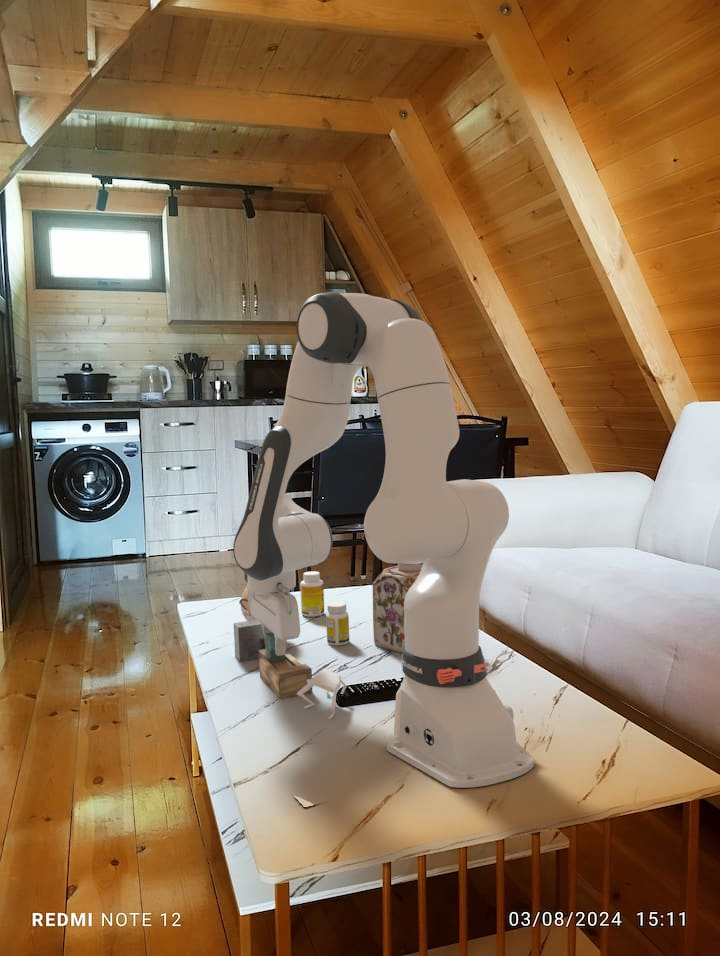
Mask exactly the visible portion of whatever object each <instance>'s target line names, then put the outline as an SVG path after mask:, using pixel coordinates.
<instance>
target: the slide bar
mask: <svg viewBox="0 0 720 956" xmlns="http://www.w3.org/2000/svg"><path fill="white" fill-rule="evenodd" d="M274 645H275V637H274V633H272V632H270V633H265V649H262V650H258V655H259V659H261V658H266V659H267V660H268V661H269V662H270V663H271V664H272V665H273V666H274V667H275V668H276V669H279V668H284V667H290V666H293V665H292V664H290V663H289V662H288V661H287V660H286V659H285V654H286V653H285V654H284V655H281V656H277V655H276V654H275V653H274ZM259 659H258V660H259Z"/></svg>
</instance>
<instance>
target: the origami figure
mask: <svg viewBox="0 0 720 956" xmlns="http://www.w3.org/2000/svg"><path fill="white" fill-rule="evenodd" d="M306 681H307V685H305V686H304V687H303V688H302V689H301V690H300V691H299V692H298V693H296V694H297V695H298V696H299V697H300V698H301V699H303V700H305V701H306V702H308V703H309V704H308V705H305V706H303V708H304V709H308V708H310V707H312V706H314V705H316V704H315V703H314V702H313V701H312V700H311V699H309V698H308V697H307V696H306V695H305V694H304V693H305V692H307V691H308V690H309V689H310V688H312V689H313V687H317V688H320V689H322V690H325V694H326V695H327V696H331V695H330V693H333V694H332V698H331V699H332V700H331V705H330V709H331V714H330V716H329V717H328V718H327V719H328V720H332V719H333V717H334V715H335V714H336V704H337V703H336V702H337V693H338V691H339V690H340V688H341V684H342V689H341V692H340V694H343V695H344V693H345V690H346V688H347V687H348V686H347V685H346V683H345V682H344V681H343V679H342V677H341V675H339V674H336V673H335V672H332V671H330V670H328V669H326V668H323V669H322V670H321V671H320V672H318V673H317V674H316V675H314V676H312V678H311V679H307V680H306ZM329 692H330V693H329Z"/></svg>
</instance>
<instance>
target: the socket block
mask: <svg viewBox="0 0 720 956" xmlns="http://www.w3.org/2000/svg"><path fill="white" fill-rule="evenodd" d="M233 639H234V643H233V644H234V657H235V659H237V660H238V662H245V661H252V660H257V659H258V658H259V655H258V650H262V649H265V637H264V633H263V629H262V623H261V622H259V621H258V620H252V621H247V620H245V621H239V622H233ZM258 660H259V659H258Z"/></svg>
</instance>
